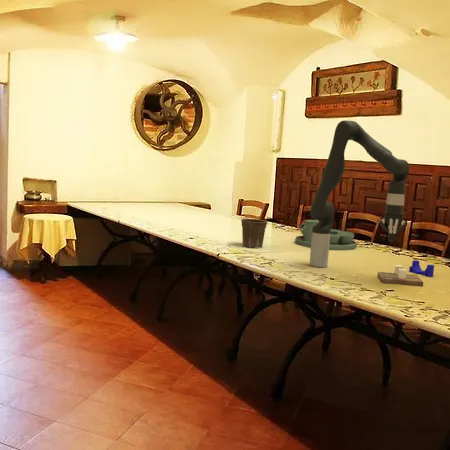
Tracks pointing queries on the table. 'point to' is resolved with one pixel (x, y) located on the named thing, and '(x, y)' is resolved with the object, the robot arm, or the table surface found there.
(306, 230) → the green tea tray
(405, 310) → the table surface
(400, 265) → the tab
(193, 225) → the table surface
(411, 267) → the cable clip
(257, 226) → the plant pot
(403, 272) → the tab
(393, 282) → the switch board
